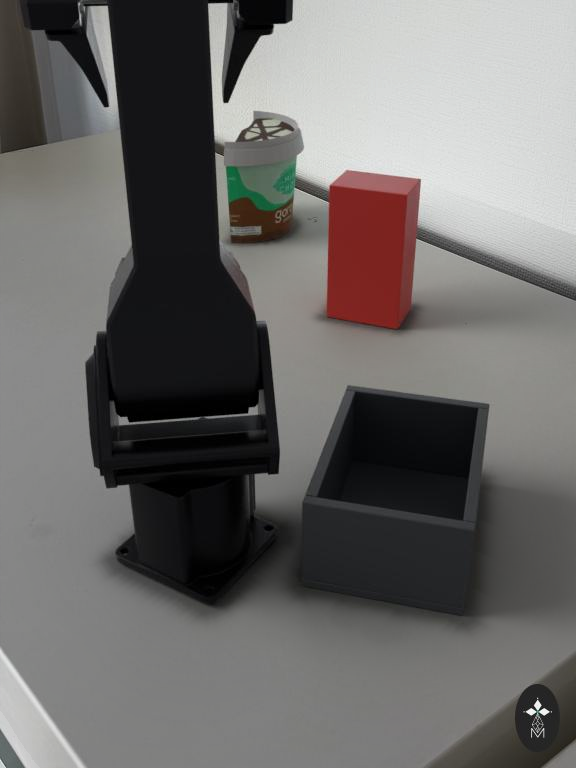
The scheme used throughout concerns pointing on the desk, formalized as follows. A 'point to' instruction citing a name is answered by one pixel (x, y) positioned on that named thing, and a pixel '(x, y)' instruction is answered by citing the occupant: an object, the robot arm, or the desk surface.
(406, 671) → the desk surface
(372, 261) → the block
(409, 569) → the bin
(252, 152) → the food container
